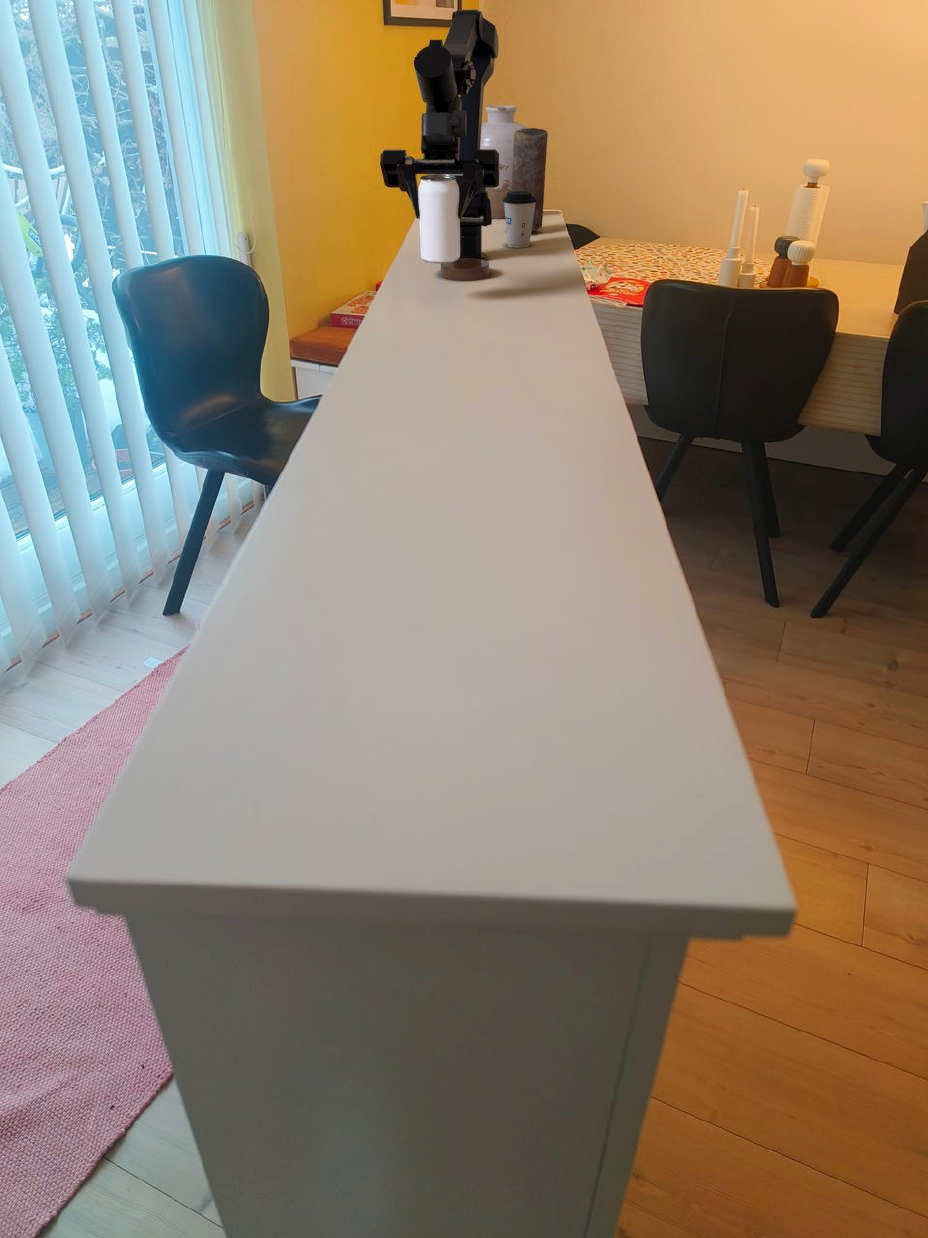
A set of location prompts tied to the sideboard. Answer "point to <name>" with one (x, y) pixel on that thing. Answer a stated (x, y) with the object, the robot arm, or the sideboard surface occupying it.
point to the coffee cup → (519, 217)
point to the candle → (530, 167)
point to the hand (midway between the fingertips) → (438, 216)
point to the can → (439, 218)
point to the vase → (500, 151)
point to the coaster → (465, 269)
